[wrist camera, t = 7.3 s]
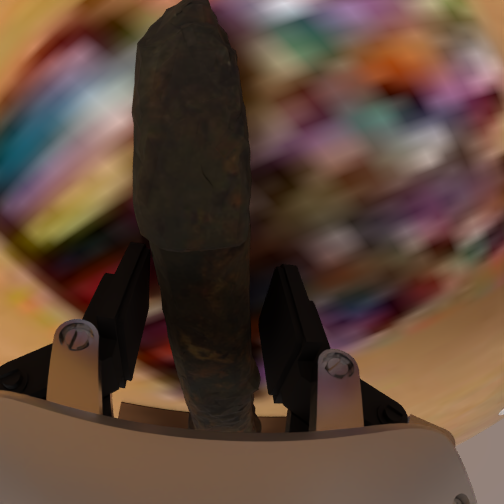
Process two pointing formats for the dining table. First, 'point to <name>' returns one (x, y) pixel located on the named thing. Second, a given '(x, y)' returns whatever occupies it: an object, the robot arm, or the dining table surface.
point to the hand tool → (198, 209)
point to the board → (184, 418)
